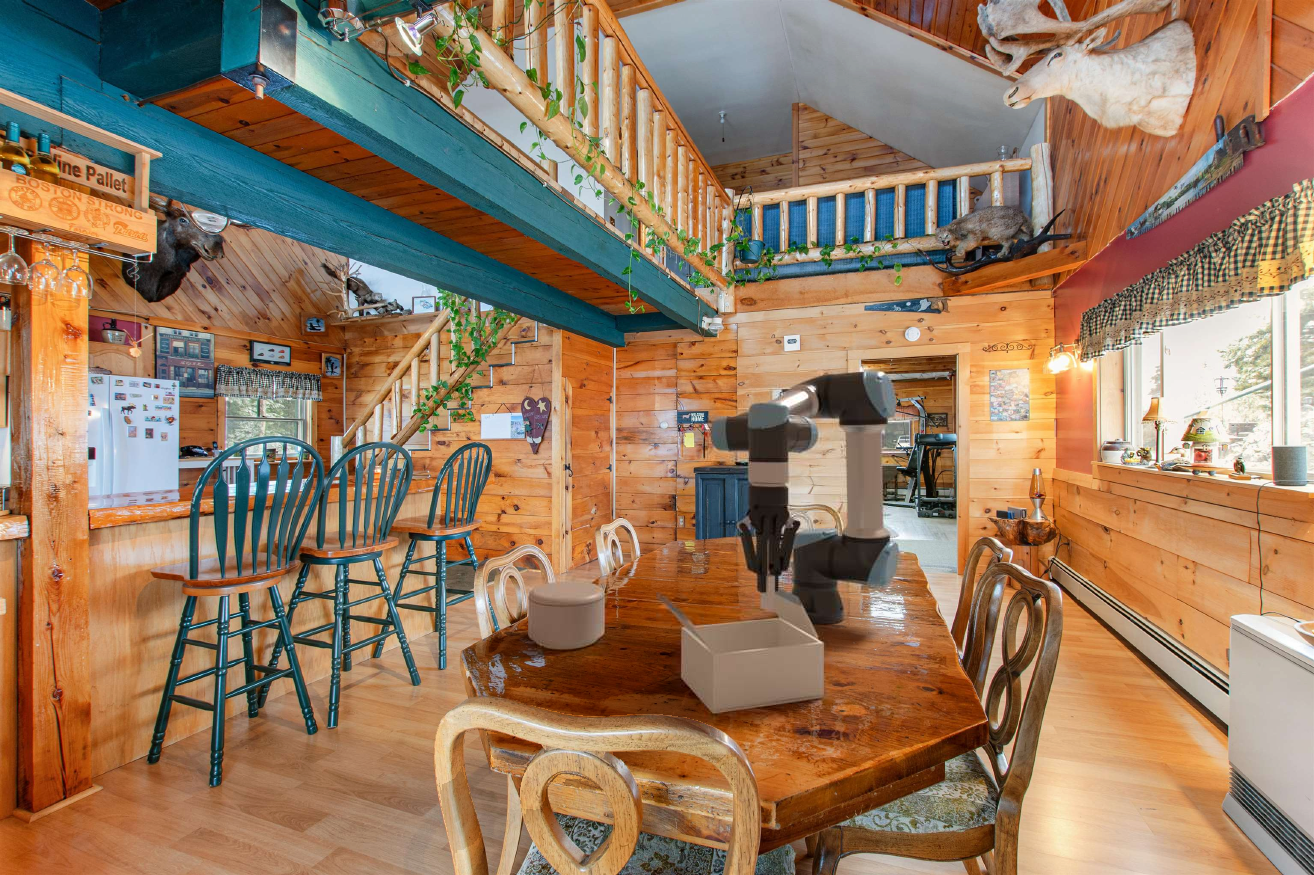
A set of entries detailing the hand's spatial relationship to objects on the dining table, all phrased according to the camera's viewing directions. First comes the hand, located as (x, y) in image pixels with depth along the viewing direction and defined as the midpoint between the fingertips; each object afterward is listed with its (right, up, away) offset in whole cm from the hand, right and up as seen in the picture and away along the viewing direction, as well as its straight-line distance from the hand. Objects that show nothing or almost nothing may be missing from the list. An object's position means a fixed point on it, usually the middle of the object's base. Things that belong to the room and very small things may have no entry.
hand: (767, 608), depth 112 cm
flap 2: (+4, -1, +3) cm, 6 cm away
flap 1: (-16, -1, -3) cm, 16 cm away
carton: (-3, -15, +1) cm, 16 cm away
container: (-42, -15, +28) cm, 53 cm away
